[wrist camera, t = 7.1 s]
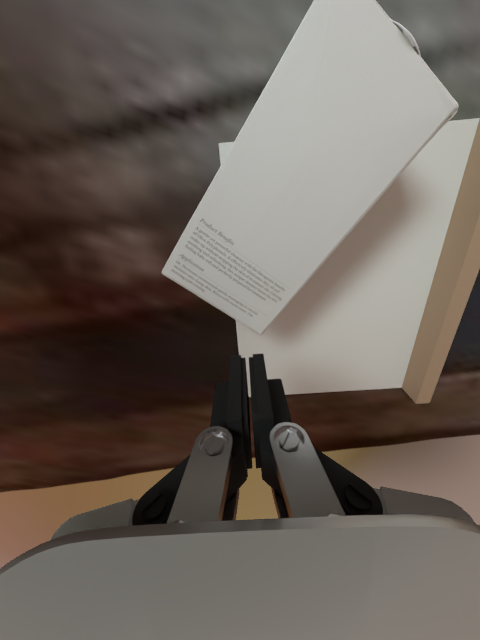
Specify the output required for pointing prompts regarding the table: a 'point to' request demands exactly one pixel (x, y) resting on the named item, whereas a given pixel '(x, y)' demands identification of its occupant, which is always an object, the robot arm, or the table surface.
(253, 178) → the skincare box
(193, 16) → the table surface
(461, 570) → the robot arm
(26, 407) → the table surface
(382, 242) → the white flat piece
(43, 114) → the table surface
